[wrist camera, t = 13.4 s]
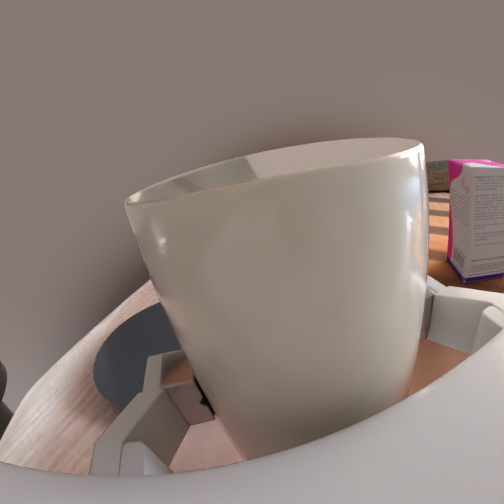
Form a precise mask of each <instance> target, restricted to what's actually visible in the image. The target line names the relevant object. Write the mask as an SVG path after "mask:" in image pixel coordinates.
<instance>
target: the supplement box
mask: <svg viewBox="0 0 504 504" xmlns="http://www.w3.org/2000/svg"><path fill="white" fill-rule="evenodd" d="M448 166H449V194H450V209H449V238H448V252H447V260H448V262H449V263H450V264H451V266H452V267H453V268H454V270H455V271H456V273H457V274H458V275H459V277H460V278H461V280H462V281H463V283H470V282H476V281H482V280H487V279H494V278H499V277H503V276H504V165H503V164H500V163H497V162H493V161H490V160H483V159H482V160H480V159H478V160H464V159H463V160H462V159H458V160H457V159H450V160H448Z"/></svg>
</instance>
